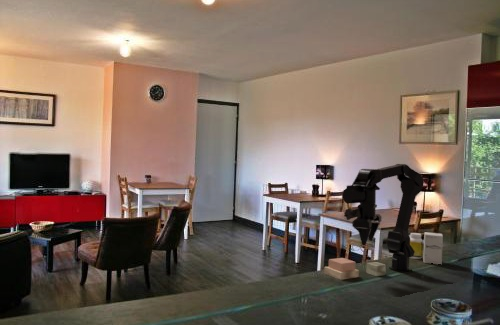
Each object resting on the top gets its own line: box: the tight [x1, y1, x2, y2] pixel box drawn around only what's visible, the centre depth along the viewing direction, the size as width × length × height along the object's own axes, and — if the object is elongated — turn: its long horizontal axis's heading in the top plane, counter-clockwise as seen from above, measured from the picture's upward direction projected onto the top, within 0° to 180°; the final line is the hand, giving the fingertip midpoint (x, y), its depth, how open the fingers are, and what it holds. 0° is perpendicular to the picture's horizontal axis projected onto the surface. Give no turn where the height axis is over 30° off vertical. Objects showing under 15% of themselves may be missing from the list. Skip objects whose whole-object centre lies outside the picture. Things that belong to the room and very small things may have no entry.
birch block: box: [323, 265, 360, 281], centre depth 158 cm, size 9×9×3 cm
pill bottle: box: [409, 232, 424, 260], centre depth 191 cm, size 6×6×11 cm
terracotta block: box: [328, 257, 356, 272], centre depth 158 cm, size 7×7×3 cm
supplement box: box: [422, 231, 444, 266], centre depth 183 cm, size 7×7×13 cm
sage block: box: [365, 261, 387, 277], centre depth 161 cm, size 5×5×4 cm
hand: (367, 242), depth 159 cm, fingers open, 9 cm apart
